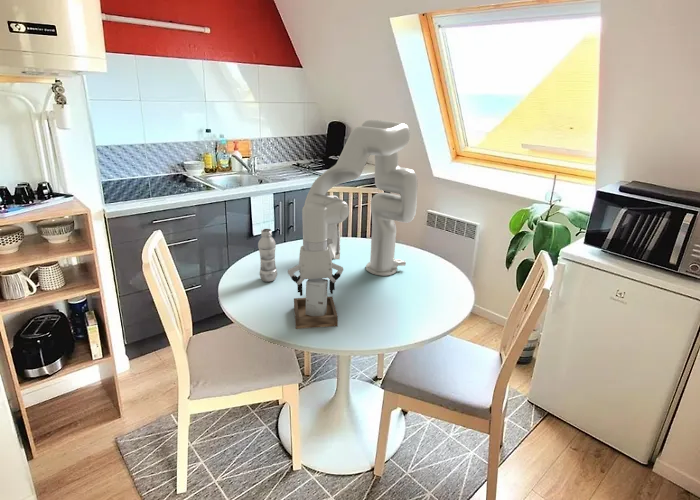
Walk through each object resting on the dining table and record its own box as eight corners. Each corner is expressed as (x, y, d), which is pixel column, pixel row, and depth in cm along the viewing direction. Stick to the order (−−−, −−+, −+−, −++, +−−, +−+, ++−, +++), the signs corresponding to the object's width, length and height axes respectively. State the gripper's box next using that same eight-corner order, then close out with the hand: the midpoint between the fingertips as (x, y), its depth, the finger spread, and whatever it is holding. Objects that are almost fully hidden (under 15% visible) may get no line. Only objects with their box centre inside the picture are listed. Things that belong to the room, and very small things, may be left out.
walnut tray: (332, 305, 150) (332, 296, 149) (337, 326, 138) (337, 316, 137) (294, 307, 148) (293, 298, 147) (296, 328, 136) (295, 319, 135)
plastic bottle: (280, 277, 168) (278, 228, 160) (271, 285, 162) (269, 234, 154) (265, 274, 170) (263, 226, 162) (256, 282, 164) (253, 232, 156)
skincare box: (305, 315, 142) (304, 281, 137) (310, 308, 146) (310, 275, 141) (322, 318, 140) (323, 285, 135) (327, 311, 144) (328, 278, 139)
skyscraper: (339, 261, 185) (341, 196, 174) (320, 260, 185) (320, 196, 174) (340, 253, 192) (341, 191, 182) (321, 252, 192) (322, 190, 182)
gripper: (341, 237, 138) (341, 285, 145) (286, 240, 135) (288, 288, 142) (345, 247, 131) (344, 296, 138) (287, 250, 129) (289, 300, 136)
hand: (316, 292), depth 140 cm, fingers open, 9 cm apart
